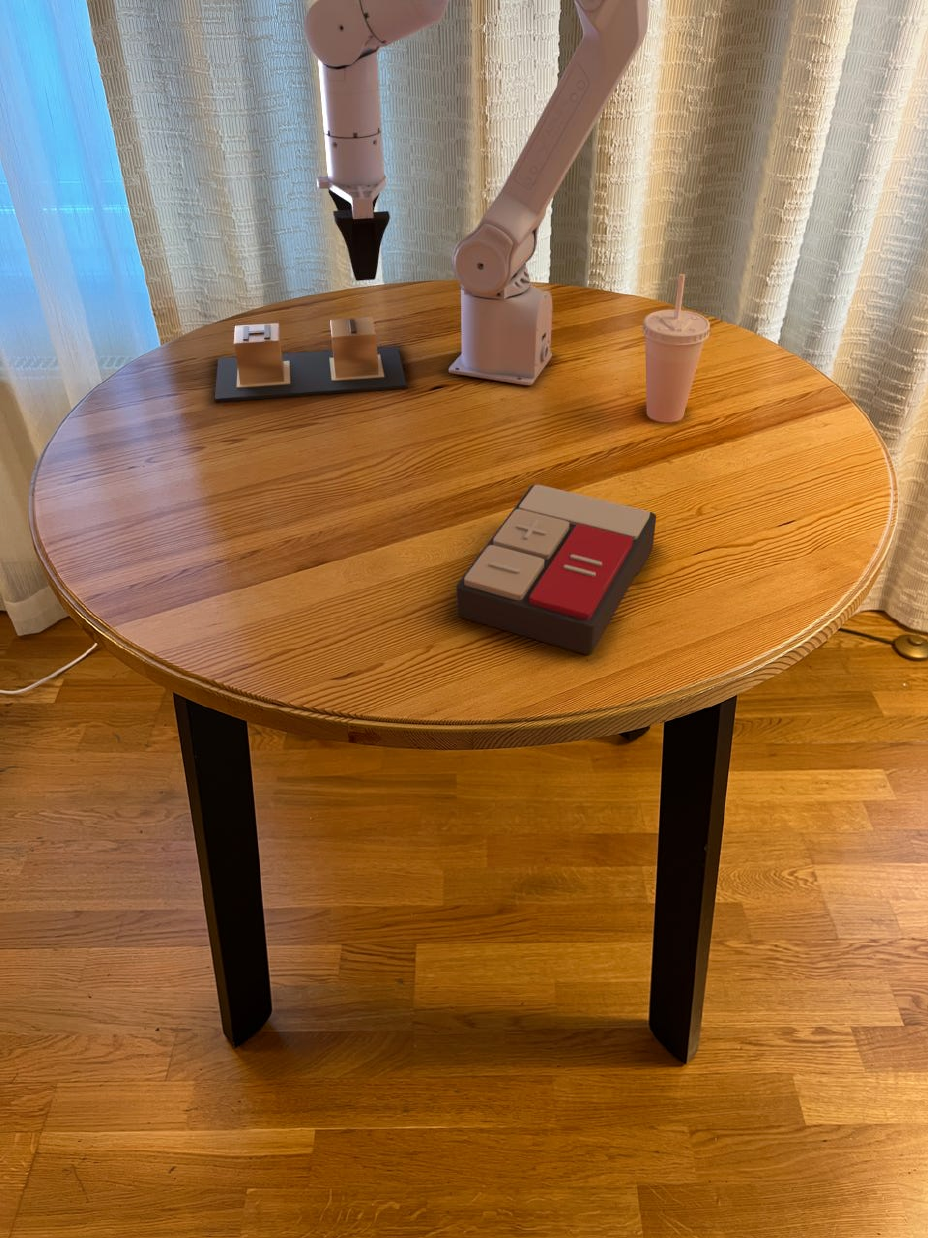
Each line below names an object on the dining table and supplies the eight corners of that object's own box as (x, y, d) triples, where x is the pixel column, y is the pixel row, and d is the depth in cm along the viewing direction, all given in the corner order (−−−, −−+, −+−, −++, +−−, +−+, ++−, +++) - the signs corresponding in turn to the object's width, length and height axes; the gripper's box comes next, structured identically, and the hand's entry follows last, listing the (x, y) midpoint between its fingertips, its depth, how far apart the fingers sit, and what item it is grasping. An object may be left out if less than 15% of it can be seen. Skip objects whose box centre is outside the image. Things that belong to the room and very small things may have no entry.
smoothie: (694, 400, 105) (714, 265, 97) (699, 430, 100) (721, 290, 92) (632, 398, 106) (646, 263, 97) (633, 427, 101) (649, 288, 92)
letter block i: (375, 356, 113) (372, 315, 110) (378, 374, 109) (376, 332, 106) (333, 359, 112) (329, 318, 109) (335, 377, 109) (331, 335, 106)
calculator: (453, 579, 75) (532, 475, 85) (455, 622, 78) (531, 516, 88) (593, 618, 72) (659, 505, 82) (590, 663, 75) (654, 547, 85)
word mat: (397, 348, 116) (397, 344, 115) (407, 388, 108) (406, 383, 108) (218, 361, 113) (218, 357, 113) (215, 402, 106) (214, 398, 105)
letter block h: (283, 362, 112) (278, 321, 109) (284, 381, 108) (278, 339, 105) (241, 365, 111) (234, 324, 108) (240, 384, 108) (233, 342, 105)
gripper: (309, 115, 107) (321, 245, 116) (316, 152, 96) (329, 293, 105) (376, 112, 108) (383, 241, 117) (391, 148, 97) (397, 288, 106)
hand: (362, 266), depth 111 cm, fingers open, 7 cm apart
